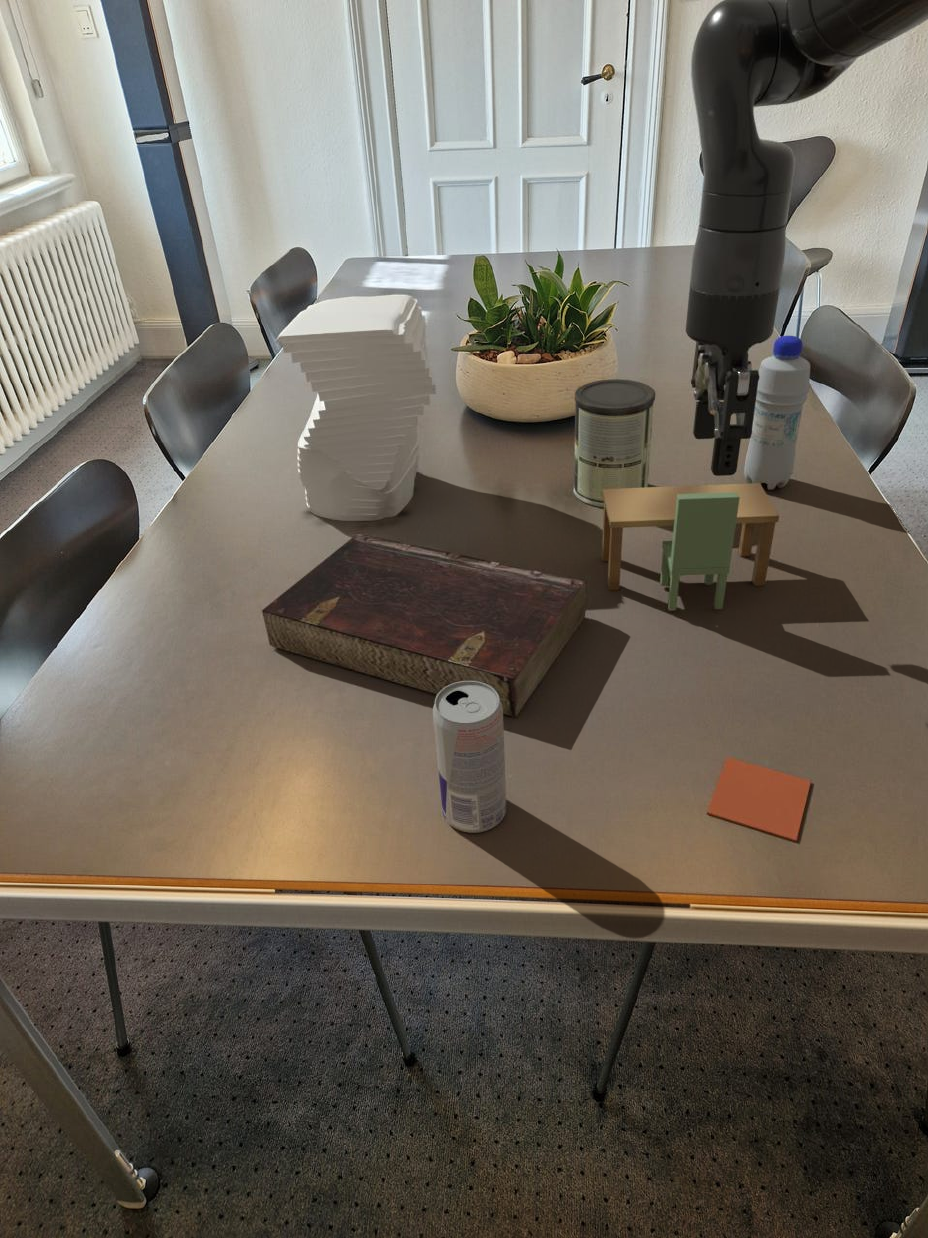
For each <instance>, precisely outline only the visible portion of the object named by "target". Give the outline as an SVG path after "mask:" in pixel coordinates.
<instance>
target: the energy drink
mask: <svg viewBox="0 0 928 1238" xmlns="http://www.w3.org/2000/svg"><path fill="white" fill-rule="evenodd" d="M432 719H433V729H434V738H435V749H436V758H437V769H438V778H439V779H438V780H439V788H440V797H441V798H440V800H441V809H442V814H443V817H444V819H445V821H446V822H447V823H448V824H449V826H451V827H453V828H454V829H456V830H458V831H460V832H464V833H469V834H476V833H477V834H478V833H483V832H487V831H489V830H491V829H493V828H494V827H496V826H497V825H499V824H500V823H501V821H502V820H503V819H504V817H505V815H506V812H507V787H506V783H507V782H506V761H505V760H506V758H505V733H504V714H503V708H502V703H501V702H500V700H499V696H498V694H497V692H496V691H495V690H494V689H493V688H492V687H491V686H489V685H487V684H485V683H482V682H478V681H460V682H456V683H453V684H450V685H448V686H446V687H445V688H443V689H442V690H441V691H440V692H439V693H438V694H436V696H435V699H434V704H433V707H432Z"/></svg>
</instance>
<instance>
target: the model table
mask: <svg viewBox="0 0 928 1238" xmlns="http://www.w3.org/2000/svg"><path fill="white" fill-rule="evenodd" d="M724 492H737V493H738V495H739V497H740V499H739V506H738V513H737V520H736V525H739V524H741V531H740V532H741V533H740V538H739V544H738V554H739V557H751V556H752V549H753V544H754V536H755V530H756V525H757V524H760V525H759V532H758V538H757V545H756V551H755V555H754V556H755V557H754V563H753V569H752V576H751V582H752V584H753V586H765V585H766V581H767V573H768V568H769V562H770V557H771V551H772V545H773V541H774V540H773V539H774V534H775V528H776V523H778V522H779V519H780V515H779V513H778V511H777V510H776V507H775V506H774V505H773V503H772V501H771V499H770V497H769V496H768V494H767V493H766V491H765V489H764V487H763V486H762V484H760V483H728V484H703V485H702V484H700V485H677V486H676V485H675V486H653V487H651V486H650V487H649V486H648V487H646V488H620V489H603V494H602V495H603V499H604V507H603V516H602V517H603V518H602V520H603V521H602V539H601V540H602V541H601V560H602V562H608V571H607V588H608V590H609V591H620V585H621V567H622V551H623V550H622V548H623V532H624V528H625V529H626V528H649V527H652V528H653V527H674V521H675V510H676V500H677V494H698V493H724Z"/></svg>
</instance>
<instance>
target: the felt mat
mask: <svg viewBox="0 0 928 1238" xmlns="http://www.w3.org/2000/svg"><path fill="white" fill-rule="evenodd" d="M811 783H812V780H809V779H805V778H803V777H799V776H795V775H792V774H789V773H785V772H781V771H778V770H774V769H770V768H768V767H764V766H760V765H757V764H754V763H749V762H745V761H743V760H739V759H736V758H732V757H728V756H727V757H726V759H725V762H724V764H723V767H722V770H721V773H720V776H719V778H718V781H717V784H716V787H715V789H714V792H713V795H712V797H711V800H710V803H709V805H708V809H707V811H706V815H709V816H711V817H716V818H719V819H721V820H725V821H728V822H731V823H734V824H738V825H741V826H743V827H748V828H751V829H754V830H757V831H761V832H763V833H767V834H770V835H773V836H776V837H779V838H783V839H786V840H789V841H791V842H797V840H798V837H799V832H800V829H801V824H802V820H803V816H804V811H805V808H806V804H807V799H808V795H809V792H810V788H811Z"/></svg>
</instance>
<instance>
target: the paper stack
mask: <svg viewBox="0 0 928 1238" xmlns="http://www.w3.org/2000/svg"><path fill="white" fill-rule="evenodd" d="M426 325H427V324H426V316H425V314H423V310H422V307H421V306H419V301H418V298H414V296H413V295H409V294H397V293H396V294H384V295H373V296H364V295H363V296H361V295H360V296H358V295H357V296H355V295H354V296H345V297H338V298H337V297H336V298H330V299H325V300H322V301H319V302H317V303H314V304H311V305H308V306H307V307H306V309H303V310H302V311H300V312H299V313H298V314H297V315H296V316H294V318H293V319H292V320H291V321H290V322H289V324H287V326H285V328H284V329H283V330H282V331H281V332H280V333H279V334H278V336H277V337H276V339H275V340H274V343H275V344H282V351H283V354H288V353H290V356H291V363H292V364H295V363H297V364H298V363H299V366H300V372H301V373H305V374H304V375H305V379H306V383H310V385H311V391H312V392H313V393H315V392H316V393H317V395H316V399H315V401H314V404H313V406H312V410H311V411H310V416H309V417H308V420H307V422H306V425H305V426H304V429H303V431H302V433H301V435H300V436H299V438H298V441H297V447H298V448H297V456H296V457H297V458H296V459H297V463H296V466H297V468H298V469H297V472H298V475H299V480H300V482H301V485H302V487H303V488H304V489H305V490H304V494H305V501H306V505H307V508H308V511H309V512H310V513H312V514H313V515H315V516H316V517H317V516H318V517H319V518H320V517H321V518H323V519H328V520H332V521H341V522H370V521H371V522H373V521H380V520H382V519H385V518H393V517H396V516H397V515H399V514H400V513H401V512H402V510H403V509H404V508H405V507H406V506H407V505H408V504H409V503H410V501H411V500H412V498H413V496H414V487H415V478H416V476H417V471H418V468H419V460H420V452H421V448H420V440H419V439H418V435H419V434H418V425H419V420H418V419H419V418H418V417H419V416H423V415H424V413H425V412H424V406H427V405H428V406H429V405H430V402H431V400H430V399H431V398H430V395H436V394H437V388H436V387H437V386H436V382H435V378H434V374H433V373H432V368H431V365H430V361H429V358H428V351H427V344H426V343H427V342H426V339H427V337H426V327H427V326H426Z"/></svg>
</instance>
